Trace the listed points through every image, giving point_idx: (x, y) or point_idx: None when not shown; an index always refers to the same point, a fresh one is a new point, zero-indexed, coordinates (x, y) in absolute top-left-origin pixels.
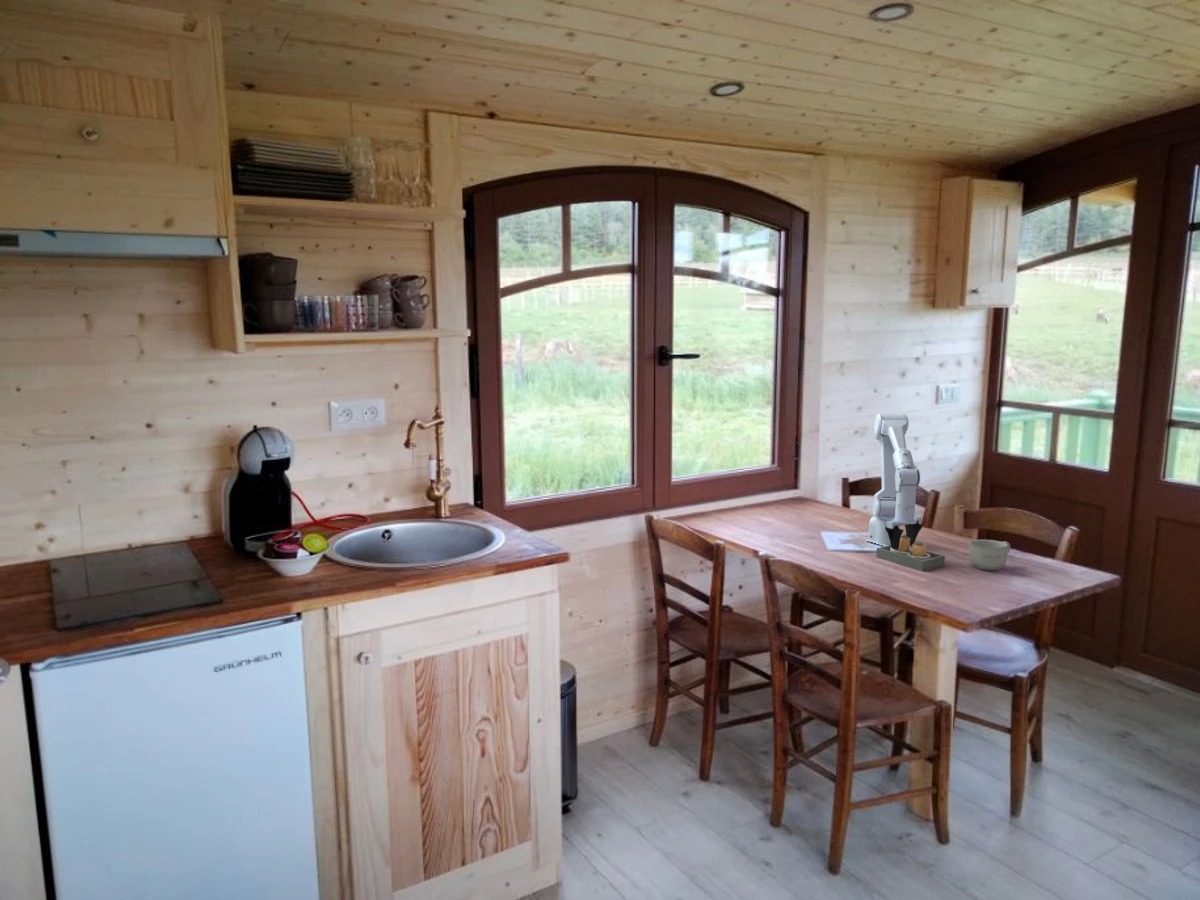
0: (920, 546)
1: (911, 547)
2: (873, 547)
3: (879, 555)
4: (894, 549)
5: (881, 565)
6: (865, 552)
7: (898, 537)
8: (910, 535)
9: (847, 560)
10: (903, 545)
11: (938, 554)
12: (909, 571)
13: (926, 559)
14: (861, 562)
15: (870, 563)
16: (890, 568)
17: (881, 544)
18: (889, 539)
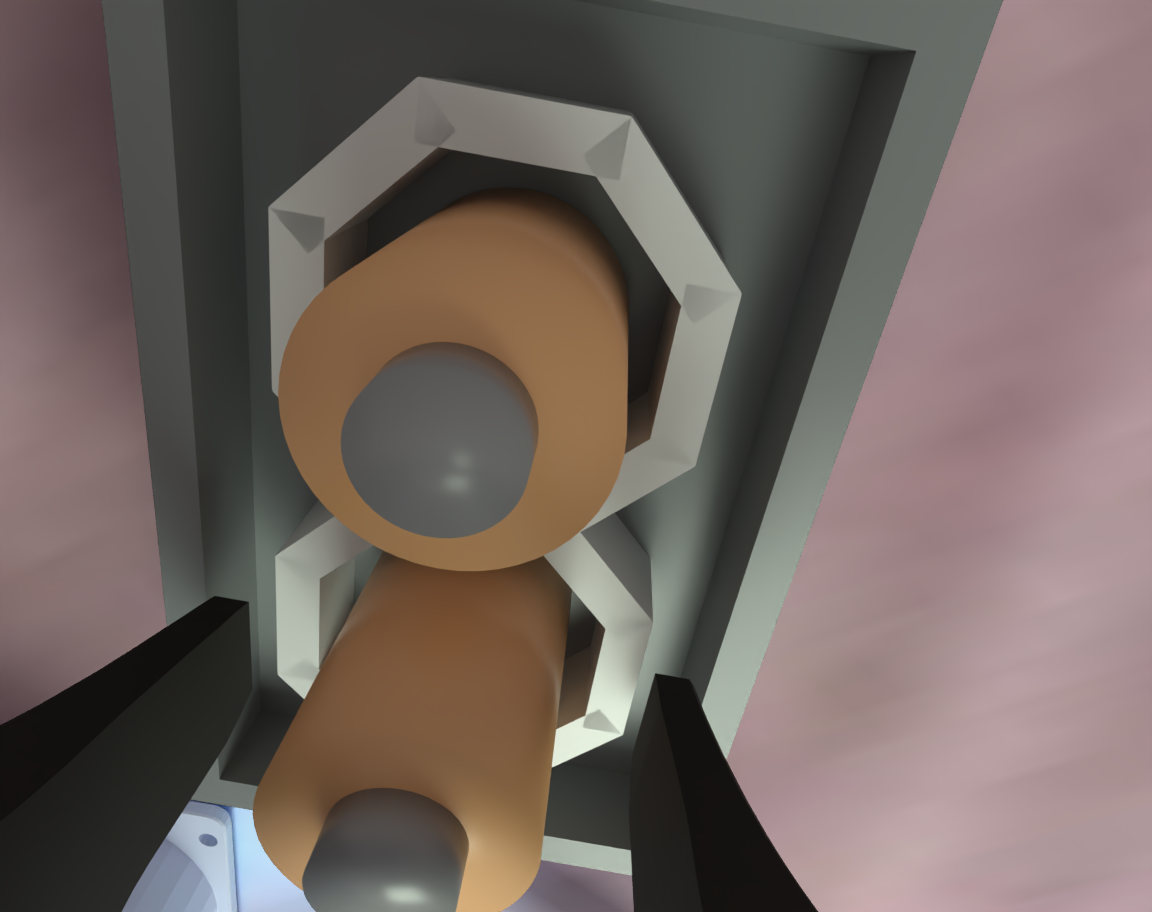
0: (566, 337)
1: None
2: None
3: None
4: None
5: (1005, 603)
6: (589, 888)
7: (796, 903)
8: (128, 805)
9: (1039, 899)
10: (535, 680)
11: (129, 16)
12: (1082, 178)
13: (755, 14)
14: (1024, 793)
15: (999, 719)
16: (1086, 466)
17: (223, 890)
18: (124, 908)
